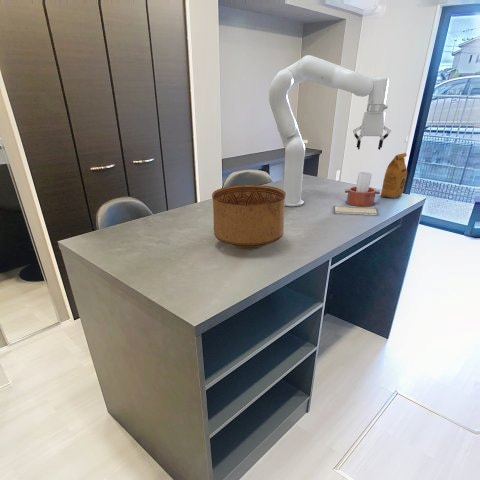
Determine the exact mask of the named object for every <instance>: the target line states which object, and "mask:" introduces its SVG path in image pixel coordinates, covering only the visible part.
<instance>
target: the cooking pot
mask: <svg viewBox="0 0 480 480" xmlns="http://www.w3.org/2000/svg"><path fill="white" fill-rule="evenodd" d="M356 187H357V186H351V187H349V188H345V189H344V193H345V194H347V198H346V204H348V206H352V207H373V205H374V203H375V198H376V195H381V191H380V190H379V189H376V188H373V187H370V186H369V190H368V193H362V192H356Z"/></svg>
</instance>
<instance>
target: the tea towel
mask: <svg viewBox="0 0 480 480" xmlns="http://www.w3.org/2000/svg"><path fill="white" fill-rule="evenodd" d="M334 214H340V215H342V214H343V215H357V216H359V215H360V216H361V215H362V216H378V212H377V209H376V207H373V206H368V207H358V206H352V205H334Z"/></svg>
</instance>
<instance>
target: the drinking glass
mask: <svg viewBox="0 0 480 480" xmlns="http://www.w3.org/2000/svg"><path fill="white" fill-rule="evenodd" d="M372 177H373V173H372V172H367V171H360V172H358V173H357V178H356V186H355V187H356V192H362V193H368V190H369V187H370V185H371V182H372Z"/></svg>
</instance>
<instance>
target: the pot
mask: <svg viewBox="0 0 480 480" xmlns="http://www.w3.org/2000/svg"><path fill="white" fill-rule="evenodd" d="M285 197H286V193H285V192H284V191H283V189H282V188H278V187H274V186H271V185H262V184H238V185H230V186H225V187H221V188H219V189H216V190H214V191H213V192H212V194H211V198H212V209H213V210H212V213H213V235H214V238H216V239H217V240H218V241H220V242H222V243H224V244H227V245H230V246H234V247H238V248H241V249H247V250H248V249H249V250H250V249H257V248H259V247H264V246H266V245H269V244H273V243H276V242H277V241H279V240H280V239H281V238H283V236H284V230H285V206H284V205H285Z"/></svg>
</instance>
